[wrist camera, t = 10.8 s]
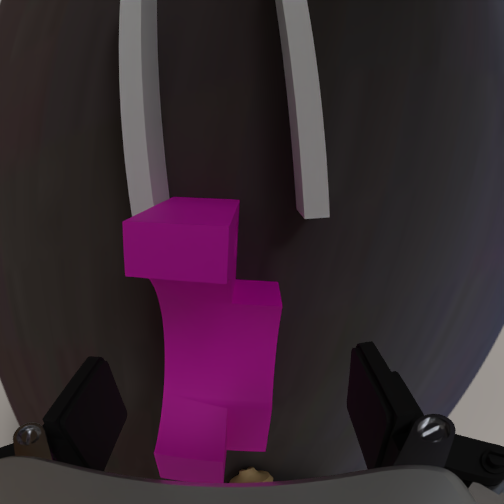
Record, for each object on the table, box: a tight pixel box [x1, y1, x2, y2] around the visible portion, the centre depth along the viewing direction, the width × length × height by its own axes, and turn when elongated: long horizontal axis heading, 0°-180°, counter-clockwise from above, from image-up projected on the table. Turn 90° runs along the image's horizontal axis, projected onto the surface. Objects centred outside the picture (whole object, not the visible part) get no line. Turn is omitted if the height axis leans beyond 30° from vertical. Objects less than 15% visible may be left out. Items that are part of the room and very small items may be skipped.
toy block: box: [123, 197, 283, 483], centre depth 16 cm, size 15×6×8 cm, turn 176°
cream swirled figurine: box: [229, 467, 273, 483], centre depth 22 cm, size 9×10×10 cm
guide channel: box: [119, 0, 330, 219], centre depth 14 cm, size 9×15×3 cm, turn 5°
